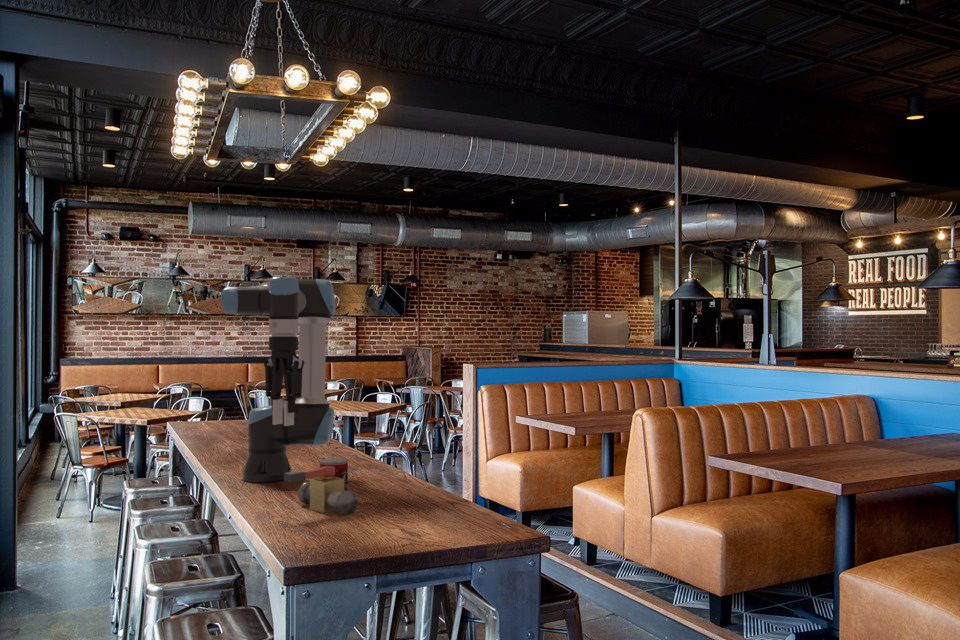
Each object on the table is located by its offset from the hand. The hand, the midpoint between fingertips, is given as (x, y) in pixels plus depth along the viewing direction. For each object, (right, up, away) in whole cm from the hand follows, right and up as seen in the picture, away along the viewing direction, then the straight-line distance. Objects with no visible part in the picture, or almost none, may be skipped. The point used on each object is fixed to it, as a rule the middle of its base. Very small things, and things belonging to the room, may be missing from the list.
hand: (283, 424), depth 195 cm
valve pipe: (+11, -23, +2) cm, 25 cm away
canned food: (+11, -23, +13) cm, 28 cm away
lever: (+8, -14, -2) cm, 16 cm away
